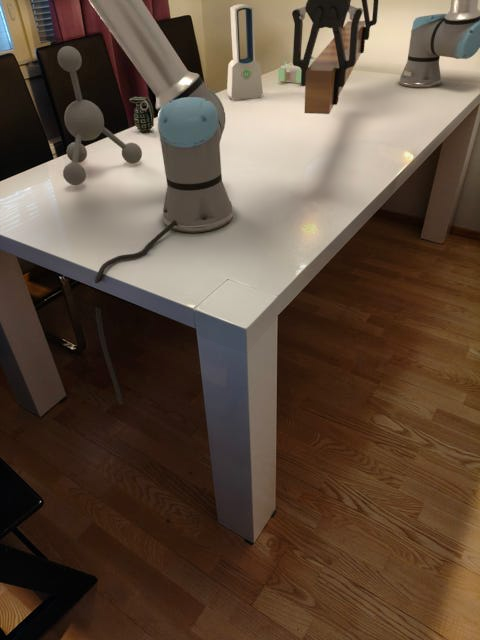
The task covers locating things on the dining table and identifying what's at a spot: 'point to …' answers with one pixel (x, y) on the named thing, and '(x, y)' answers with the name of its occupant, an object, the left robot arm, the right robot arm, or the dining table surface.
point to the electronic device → (243, 71)
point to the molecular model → (85, 123)
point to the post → (328, 73)
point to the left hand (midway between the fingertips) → (321, 102)
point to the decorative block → (291, 72)
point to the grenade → (143, 114)
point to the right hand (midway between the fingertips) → (352, 52)
